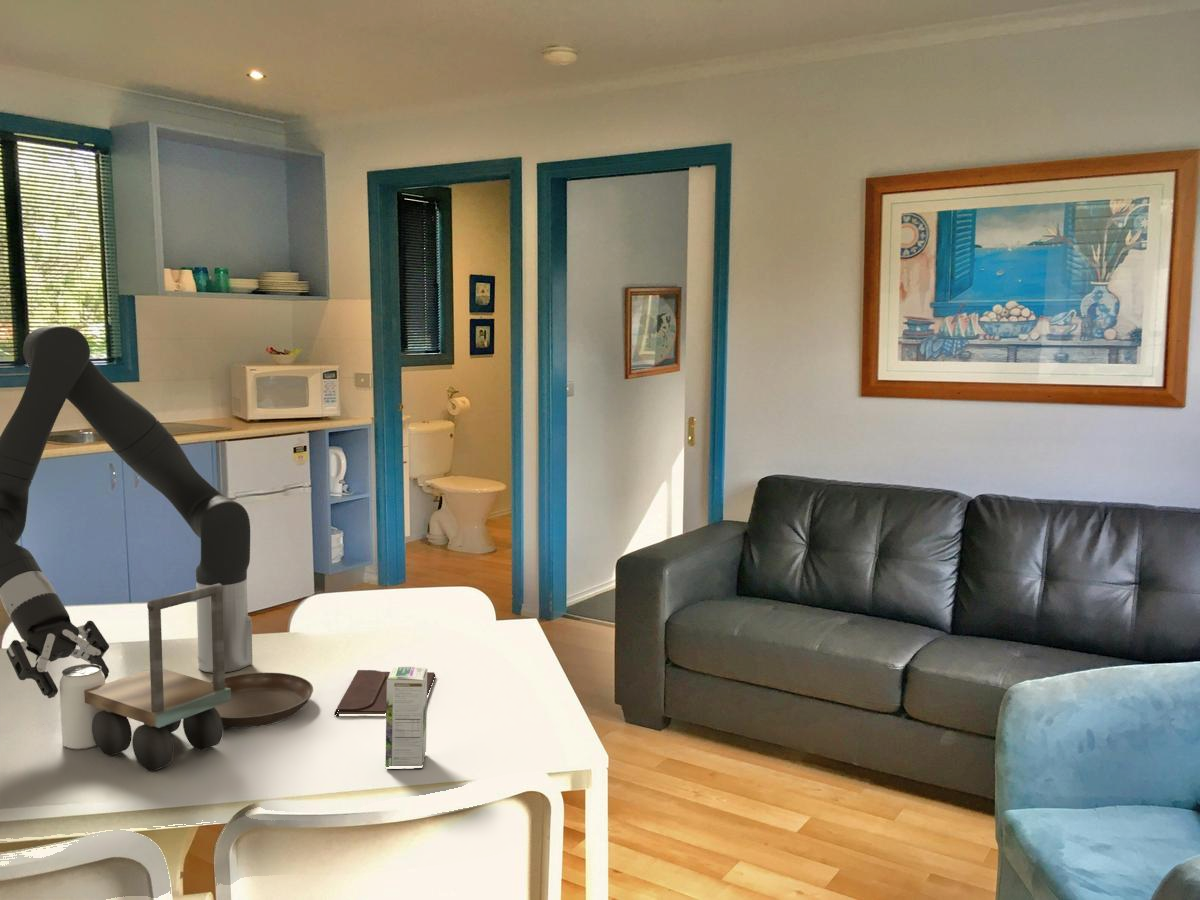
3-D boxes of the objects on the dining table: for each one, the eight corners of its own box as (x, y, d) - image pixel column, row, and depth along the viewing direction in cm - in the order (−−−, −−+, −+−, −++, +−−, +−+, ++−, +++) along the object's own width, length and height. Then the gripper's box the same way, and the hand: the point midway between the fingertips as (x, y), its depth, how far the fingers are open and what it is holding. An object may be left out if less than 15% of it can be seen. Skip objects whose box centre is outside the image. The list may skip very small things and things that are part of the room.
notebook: (435, 680, 198) (435, 670, 198) (422, 720, 178) (422, 709, 178) (356, 679, 197) (356, 669, 197) (334, 719, 178) (334, 708, 177)
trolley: (86, 752, 161) (79, 584, 158) (159, 724, 172) (154, 568, 169) (160, 779, 152) (154, 603, 149) (232, 749, 163) (228, 584, 160)
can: (89, 752, 161) (85, 678, 159) (52, 748, 162) (49, 674, 161) (116, 736, 167) (113, 664, 166) (81, 732, 169) (78, 661, 167)
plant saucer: (242, 744, 166) (242, 724, 165) (162, 716, 177) (161, 697, 176) (338, 705, 183) (338, 687, 183) (259, 681, 194) (259, 664, 194)
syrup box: (389, 754, 163) (389, 666, 161) (427, 754, 163) (427, 665, 161) (385, 770, 157) (384, 678, 155) (424, 770, 158) (424, 678, 156)
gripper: (-2, 602, 161) (45, 687, 156) (83, 582, 173) (129, 661, 169) (-20, 629, 164) (27, 713, 160) (66, 608, 176) (111, 686, 172)
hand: (79, 686), depth 164 cm, fingers open, 8 cm apart
